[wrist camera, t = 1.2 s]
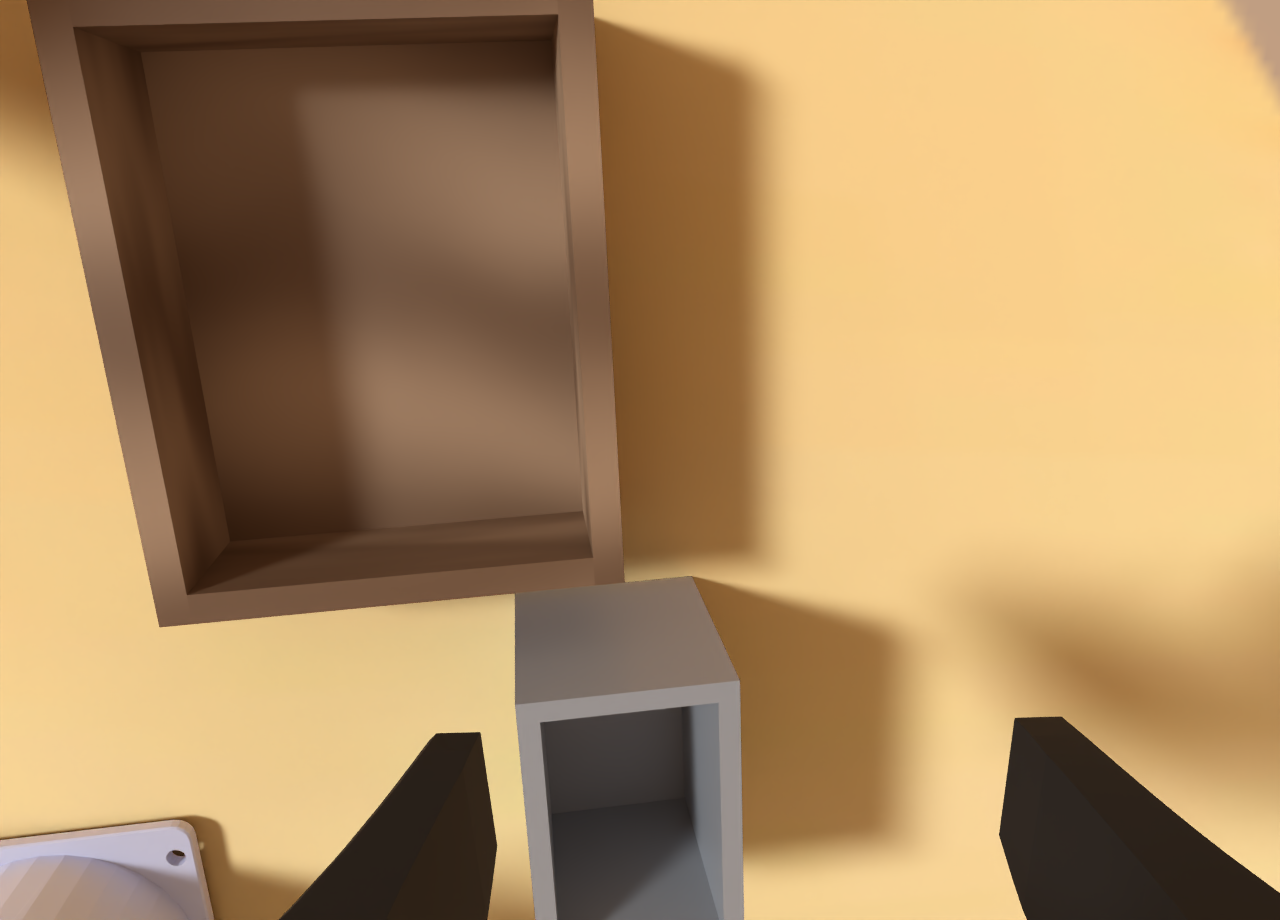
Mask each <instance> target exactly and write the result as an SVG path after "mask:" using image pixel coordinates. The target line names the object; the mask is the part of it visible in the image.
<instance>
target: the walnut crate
mask: <svg viewBox="0 0 1280 920" xmlns="http://www.w3.org/2000/svg"><path fill="white" fill-rule="evenodd" d="M27 4H28V9H29V14H30V18H31V23H32V28H33V32H34V37H35V42H36V47H37V51H38V56H39V61H40V66H41V70H42V75H43V80H44V84H45V89H46V94H47V99H48V103H49V108H50V113H51V117H52V122H53V127H54V132H55V136H56V141H57V146H58V150H59V155H60V160H61V165H62V169H63V174H64V179H65V183H66V188H67V193H68V198H69V202H70V207H71V212H72V217H73V221H74V226H75V231H76V235H77V240H78V245H79V250H80V254H81V259H82V264H83V268H84V273H85V278H86V283H87V287H88V292H89V297H90V301H91V306H92V311H93V316H94V320H95V325H96V330H97V334H98V339H99V344H100V349H101V353H102V358H103V363H104V368H105V372H106V377H107V382H108V386H109V391H110V396H111V401H112V405H113V410H114V415H115V419H116V424H117V429H118V434H119V438H120V443H121V448H122V452H123V457H124V462H125V467H126V471H127V476H128V481H129V485H130V490H131V495H132V500H133V504H134V509H135V514H136V519H137V523H138V528H139V533H140V537H141V542H142V547H143V552H144V556H145V561H146V566H147V570H148V575H149V580H150V585H151V589H152V594H153V599H154V603H155V608H156V613H157V618H158V622H159V627H168V626H178V625H188V624H199V623H209V622H220V621H230V620H241V619H251V618H262V617H272V616H282V615H293V614H303V613H314V612H324V611H335V610H345V609H356V608H366V607H376V606H387V605H397V604H408V603H418V602H429V601H439V600H450V599H460V598H470V597H481V596H491V595H502V594H512V593H523V592H533V591H543V590H554V589H564V588H575V587H585V586H596V585H606V584H617V583H625V579H624V560H623V542H622V524H621V505H620V487H619V468H618V450H617V432H616V413H615V395H614V376H613V358H612V340H611V321H610V303H609V284H608V266H607V248H606V229H605V211H604V192H603V174H602V155H601V137H600V119H599V100H598V82H597V63H596V45H595V27H594V8H593V0H27Z"/></svg>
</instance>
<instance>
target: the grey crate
mask: <svg viewBox="0 0 1280 920" xmlns="http://www.w3.org/2000/svg"><path fill="white" fill-rule="evenodd" d="M515 709H516V719H517V730H518V740H519V751H520V762H521V772H522V783H523V793H524V804H525V815H526V825H527V836H528V846H529V857H530V867H531V878H532V889H533V899H534V910H535V920H744V893H743V833H742V772H741V712H740V679H739V677H738V675H737V673H736V671H735V669H734V666H733V664H732V662H731V660H730V658H729V656H728V653H727V651H726V649H725V647H724V645H723V643H722V640H721V638H720V636H719V634H718V632H717V630H716V627H715V625H714V623H713V621H712V619H711V617H710V614H709V612H708V610H707V608H706V606H705V604H704V601H703V599H702V597H701V595H700V593H699V591H698V588H697V586H696V584H695V582H694V580H693V578H692V576H687V577H677V578H666V579H656V580H646V581H635V582H625V583H617V584H606V585H596V586H585V587H575V588H564V589H554V590H543V591H533V592H523V593H515Z"/></svg>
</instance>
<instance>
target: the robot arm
mask: <svg viewBox="0 0 1280 920" xmlns="http://www.w3.org/2000/svg"><path fill="white" fill-rule="evenodd" d="M999 836H1000V839H1001V843H1002V846H1003V849H1004V852H1005V856H1006V859H1007V862H1008V866H1009V869H1010V872H1011V876H1012V879H1013V882H1014V885H1015V888H1016V891H1017V894H1018V897H1019V900H1020V903H1021V906H1022V909H1023V911H1024V914H1025V916H1026V918H1027V920H1280V893H1279V892H1278V891H1276V890H1275V889H1273V888H1272V887H1271V886H1269V885H1268V884H1267V883H1265V882H1264V881H1263V880H1261V879H1260V878H1259V877H1257V876H1256V875H1255V874H1253V873H1252V872H1250V871H1249V870H1248V869H1246V868H1245V867H1244V866H1242V865H1241V864H1240V863H1238V862H1237V861H1236V860H1234V859H1233V858H1232V857H1230V856H1229V855H1228V854H1226V853H1225V852H1224V851H1222V850H1221V849H1220V848H1219V847H1217V846H1216V845H1215V844H1213V843H1212V842H1211V841H1210V840H1208V839H1207V838H1206V837H1204V836H1203V835H1202V834H1201V833H1199V832H1198V831H1197V830H1196V829H1194V828H1193V827H1192V826H1191V825H1189V824H1188V823H1187V822H1186V821H1184V820H1183V819H1182V818H1181V817H1180V816H1178V815H1177V814H1176V813H1175V812H1173V811H1172V810H1171V809H1170V808H1169V807H1167V806H1166V805H1165V804H1164V803H1162V802H1161V801H1160V800H1159V799H1158V798H1156V797H1155V796H1154V795H1153V794H1152V793H1150V792H1149V791H1148V790H1147V789H1146V788H1145V787H1143V786H1142V785H1141V784H1140V783H1139V782H1137V781H1136V780H1135V779H1134V778H1133V777H1132V776H1130V775H1129V774H1128V773H1127V772H1126V771H1125V770H1123V769H1122V768H1121V767H1120V766H1119V765H1118V764H1116V763H1115V762H1114V761H1113V760H1112V759H1111V758H1109V757H1108V756H1107V755H1106V754H1105V753H1104V752H1102V751H1101V750H1100V749H1099V748H1098V747H1097V746H1096V745H1094V744H1093V743H1092V742H1091V741H1090V740H1089V739H1087V738H1086V737H1085V736H1084V735H1083V734H1082V733H1080V732H1079V731H1078V730H1077V729H1076V728H1074V727H1073V726H1072V725H1071V724H1070V723H1068V722H1067V721H1066V720H1065V719H1064V718H1062V717H1032V718H1015V720H1014V727H1013V735H1012V742H1011V750H1010V757H1009V765H1008V772H1007V780H1006V787H1005V795H1004V802H1003V810H1002V817H1001V825H1000V832H999ZM173 850H180V851H182V852H183V853H184V854H185V856H177V855H175V854H173V852H172V851H173ZM496 851H497V842H496V835H495V828H494V821H493V815H492V808H491V801H490V794H489V787H488V781H487V774H486V767H485V760H484V754H483V747H482V740H481V733H480V732H473V733H436V734H435V735H434V736H433V737H432V738H431V739H430V740H429V742H428V743H427V744H426V746H425V747H424V748H423V750H422V751H421V752H420V754H419V755H418V756H417V758H416V759H415V760H414V762H413V763H412V764H411V766H410V767H409V768H408V769H407V771H406V772H405V773H404V775H403V776H402V777H401V779H400V780H399V781H398V783H397V784H396V785H395V786H394V788H393V789H392V790H391V792H390V793H389V794H388V795H387V797H386V798H385V799H384V800H383V802H382V803H381V804H380V806H379V807H378V808H377V809H376V811H375V812H374V813H373V814H372V815H371V817H370V818H369V819H368V820H367V821H366V823H365V824H364V825H363V826H362V827H361V829H360V830H359V831H358V832H357V834H356V835H355V836H354V837H353V838H352V840H351V841H350V842H349V843H348V844H347V846H346V847H345V848H344V849H343V850H342V851H341V853H340V854H339V855H338V856H337V857H336V858H335V860H334V861H333V862H332V863H331V864H330V865H329V866H328V867H327V868H326V869H325V871H324V872H323V873H322V874H321V875H320V876H319V877H318V878H317V879H316V880H315V881H314V883H313V884H312V885H311V886H310V887H309V888H308V889H307V890H306V891H305V892H304V894H303V895H302V896H301V897H300V898H299V899H298V900H297V901H296V902H295V903H294V904H293V905H292V907H291V908H290V909H289V910H288V911H287V912H286V913H285V914H284V915H283V916H282V917H281V918H280V919H279V920H487V917H488V910H489V903H490V896H491V889H492V882H493V874H494V866H495V859H496ZM0 920H214V916H213V911H212V907H211V902H210V897H209V893H208V888H207V883H206V879H205V874H204V869H203V865H202V860H201V855H200V851H199V846H198V841H197V837H196V832H195V830H194V828H193V827H192V826H191V825H190V824H189V823H188V822H185V821H183V820H167V821H158V822H150V823H141V824H133V825H124V826H116V827H107V828H99V829H91V830H82V831H74V832H65V833H57V834H48V835H40V836H31V837H23V838H14V839H6V840H0Z"/></svg>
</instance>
